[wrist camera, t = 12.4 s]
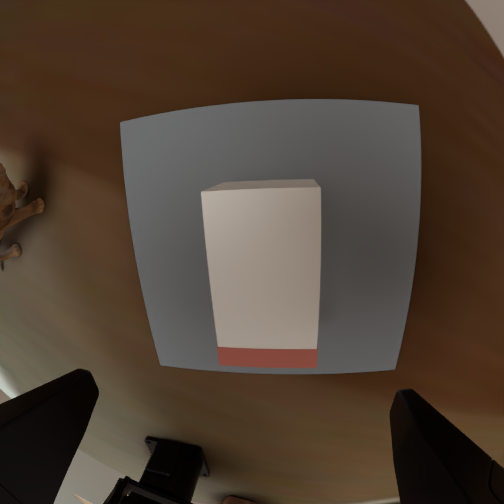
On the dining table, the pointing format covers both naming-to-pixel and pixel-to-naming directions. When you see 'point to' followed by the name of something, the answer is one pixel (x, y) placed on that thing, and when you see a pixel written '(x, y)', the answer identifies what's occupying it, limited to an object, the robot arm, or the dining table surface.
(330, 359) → the mat
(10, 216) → the lion figurine
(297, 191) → the beige rectangular block
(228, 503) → the cupcake
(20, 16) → the dining table surface
